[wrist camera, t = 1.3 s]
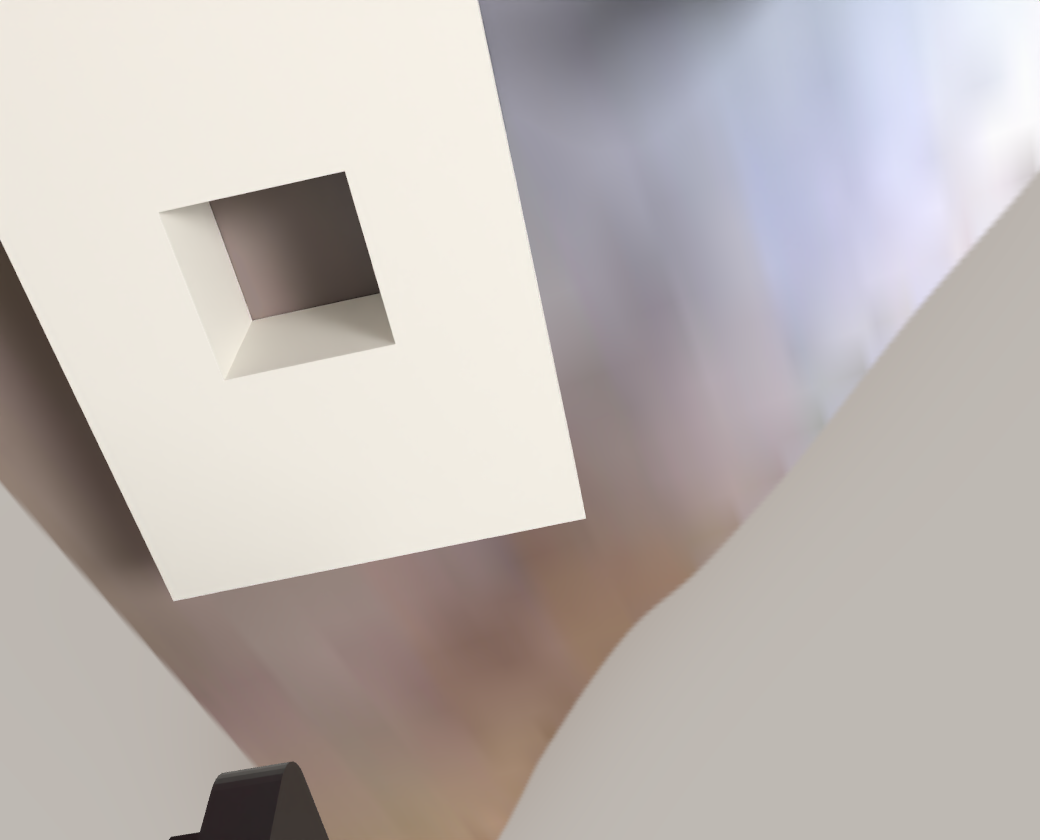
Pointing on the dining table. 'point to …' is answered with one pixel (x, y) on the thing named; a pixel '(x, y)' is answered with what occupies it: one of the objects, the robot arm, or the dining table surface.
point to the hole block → (296, 335)
